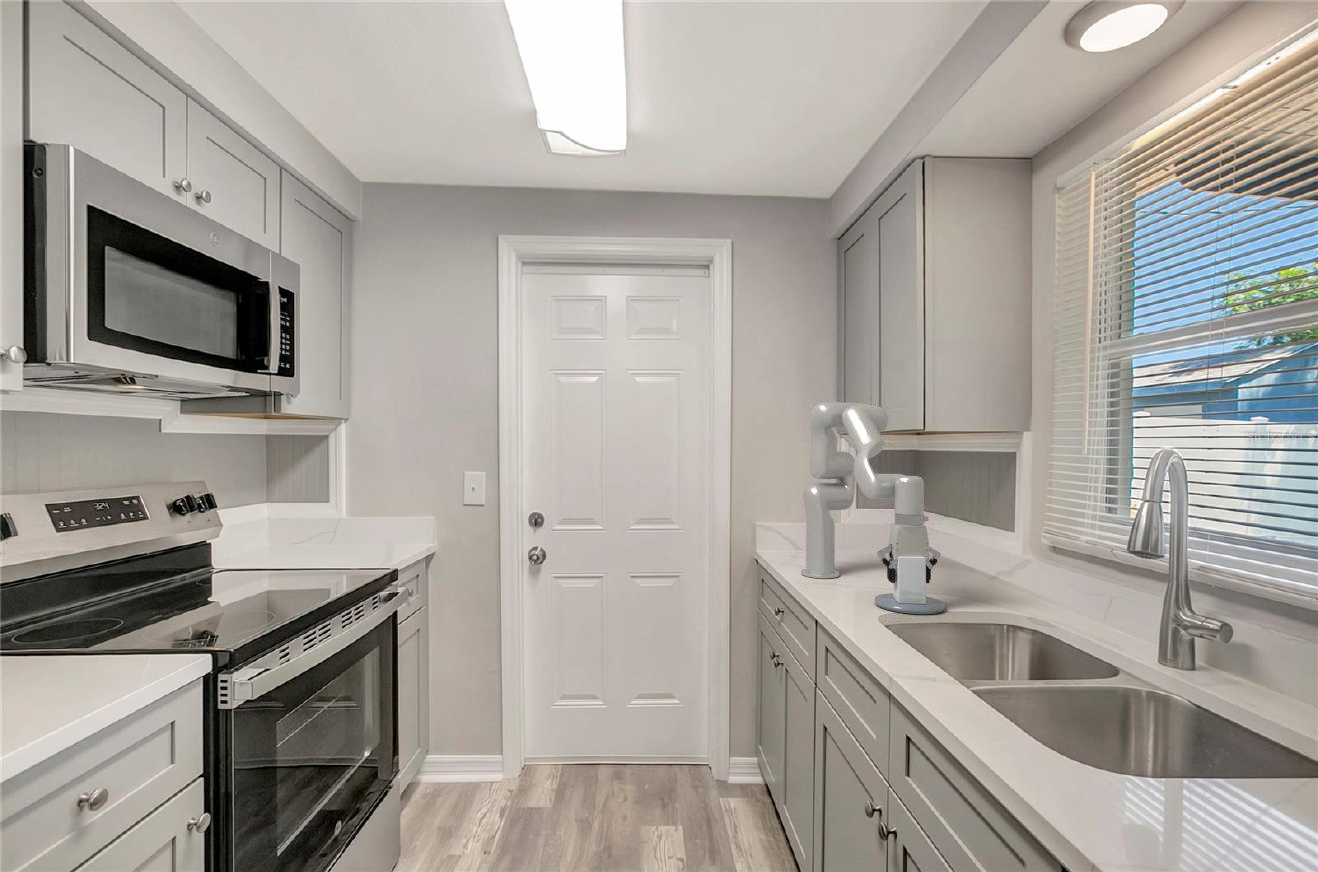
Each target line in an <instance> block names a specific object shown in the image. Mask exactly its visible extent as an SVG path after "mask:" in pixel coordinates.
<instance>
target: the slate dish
mask: <svg viewBox="0 0 1318 872" xmlns="http://www.w3.org/2000/svg"><path fill="white" fill-rule="evenodd" d="M874 604H875V606H877V607H879V608H882V609H884V610H887V611H891V612H898V613H900V614H901V613H903V614H912V615H934V614H935V615H936V614H939V613H943V612H944V611H945V609H946V608H945V606H946V604H945V603H944V601H942V600H940V599H937V598H934V597H930V596H927V595H926V604H909V603H898V601H897V600H896V599H895V598H894V597H893V592H892V593H882V594H881V593H880V594H878V595H876V596H874Z"/></svg>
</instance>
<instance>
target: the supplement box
mask: <svg viewBox="0 0 1318 872" xmlns="http://www.w3.org/2000/svg"><path fill="white" fill-rule="evenodd" d="M894 569H895V583H892V584H893V585H892V589H893V590H892V593H893V597H894V598H895V599H896V600H897V601H898V603H909V604H926V596H927V583H926V558H925V557H898V561H897V564H896V565H895V566H894Z"/></svg>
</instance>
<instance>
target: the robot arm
mask: <svg viewBox="0 0 1318 872" xmlns="http://www.w3.org/2000/svg"><path fill="white" fill-rule="evenodd" d="M888 426H889V416H888V414H887V412H886V410H885V409H884V408H882V407H880V406H878V405H872V404H871V405H870V404H865V403H860V402H859V403H858V402H839V401H825V402H821V403H818V404H816V405H815V406H814V407H813V408H812V410H811V412H810V415H809V430H810V436H811V437H810V438H811V443H810V453H809V454H810V458H809V472H810V475H811V476H812V478H815V479H819V480H835V482H813V483H810V484H808V485H807V486H806V487H805V488H804V490H803V492H802V493H803V494H802V498H803V503H804V510H805V511H804V512H805V568H803V569H802V570H801V575H802V576H804V577H808V578H814V579H835V578H839V577H840V572H839V571H837V570H835V566H836V565H835V561H836V560H835V556H836V555H835V550H836V549H835V548H836V547H835V546H836V545H835V544H836V543H835V541H836V536H835V530H836V528H835V527H836V526H835V522H834V519H833V516H832V515H831V513H830V511H844V510H848V509H850V508H851V507H852V505H853V504H854V500H855V493H856V483H857V486H858V488H859V489H860V491H861V493H862V494H863V496H864V497H866V499H869V500H870V501H871V500H872V501H894V524H893V523H892V524H891V526H890V530H889V536H888V545H887V546H886V547H883V548H882V549H880V550H878V551H877V555H878V557H879V559H880V561H881V563H882V564H884V565H885V566H886V567H887V568H886V576H887V577H886V579H887V580H888V582H890V583H891V584H893V583H895V569H894V566H895V565H896V564H897V561H898V557H925V558H926V585H927V584H928V585H929V584H930V581H931V579H932V569H933V568H934V566H935V565H936V564H937V563H938V560H939V559H940V557H941V556H942V555H941V554H942V553H941V552H940V551H938V550H936V549H934V548H933V547H930V541H929V536H928V530H927V526H926V524H925V522H929V516H928V515H927V516H926V515H925V511H924V510H925V503H924V501H925V497H924V496H925V494H924V493H925V481H924V479H923V478H922V477H921V476H917V475H905V474H902V473H875V472H874V469H873V468H872V466H871V463H870V460H869V459H872V458H873V457H875V456H877V455H879V454H880V453H881V452H882V451H883V450H884V448H885V440H884V439H883V437H882V435H881V433H882V432H883V431H885V430H886V429H887V428H888ZM833 428H835V429H837V428H839V429H845V430H846V433H847V435H848V436H849V438H850V441H851V442H852V443H851V444H852V445H853V447H854V449H855V451H856V456H855V458H854V456H853V454H851V453H850V452H848V451H842V450H840V451H839V450H837V449H838V447H837V445H838V439H837V435H836V433H835V431H834V429H833ZM930 553H931V554H932V557H931V558H930ZM886 554H887V556H888V558H889V559H887V558H886Z"/></svg>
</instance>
